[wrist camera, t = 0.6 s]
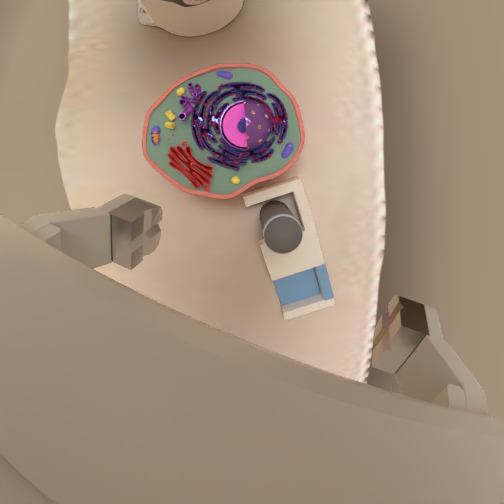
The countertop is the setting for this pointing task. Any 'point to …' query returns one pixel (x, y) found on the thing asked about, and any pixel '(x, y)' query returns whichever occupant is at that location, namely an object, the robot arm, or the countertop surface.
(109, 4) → the countertop surface
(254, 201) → the cream holder tray
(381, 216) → the countertop surface
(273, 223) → the stub
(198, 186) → the cell model
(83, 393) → the robot arm
